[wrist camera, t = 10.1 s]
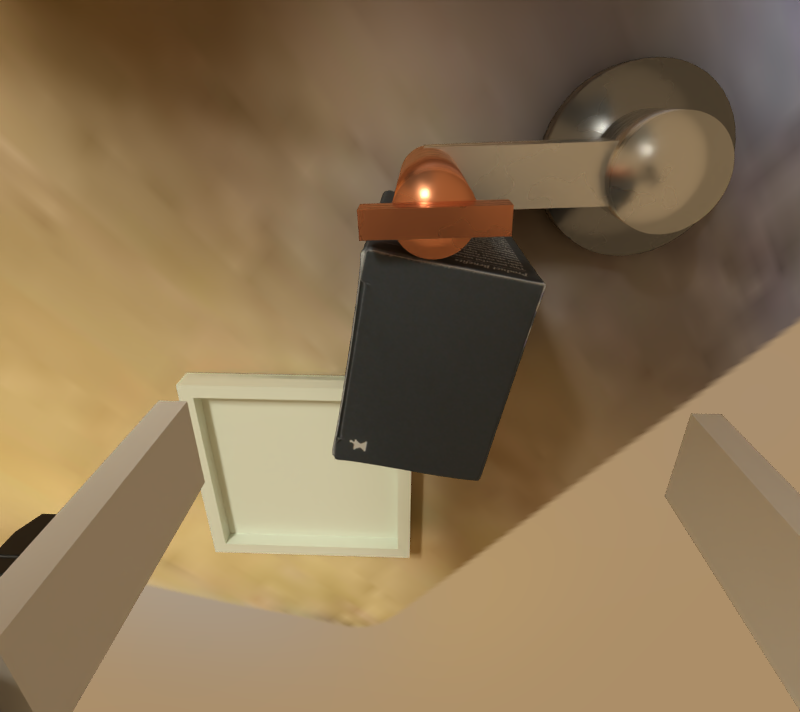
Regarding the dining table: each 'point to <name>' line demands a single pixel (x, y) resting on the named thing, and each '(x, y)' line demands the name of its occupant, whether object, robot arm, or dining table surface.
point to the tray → (289, 470)
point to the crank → (557, 181)
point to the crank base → (606, 103)
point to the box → (434, 354)
